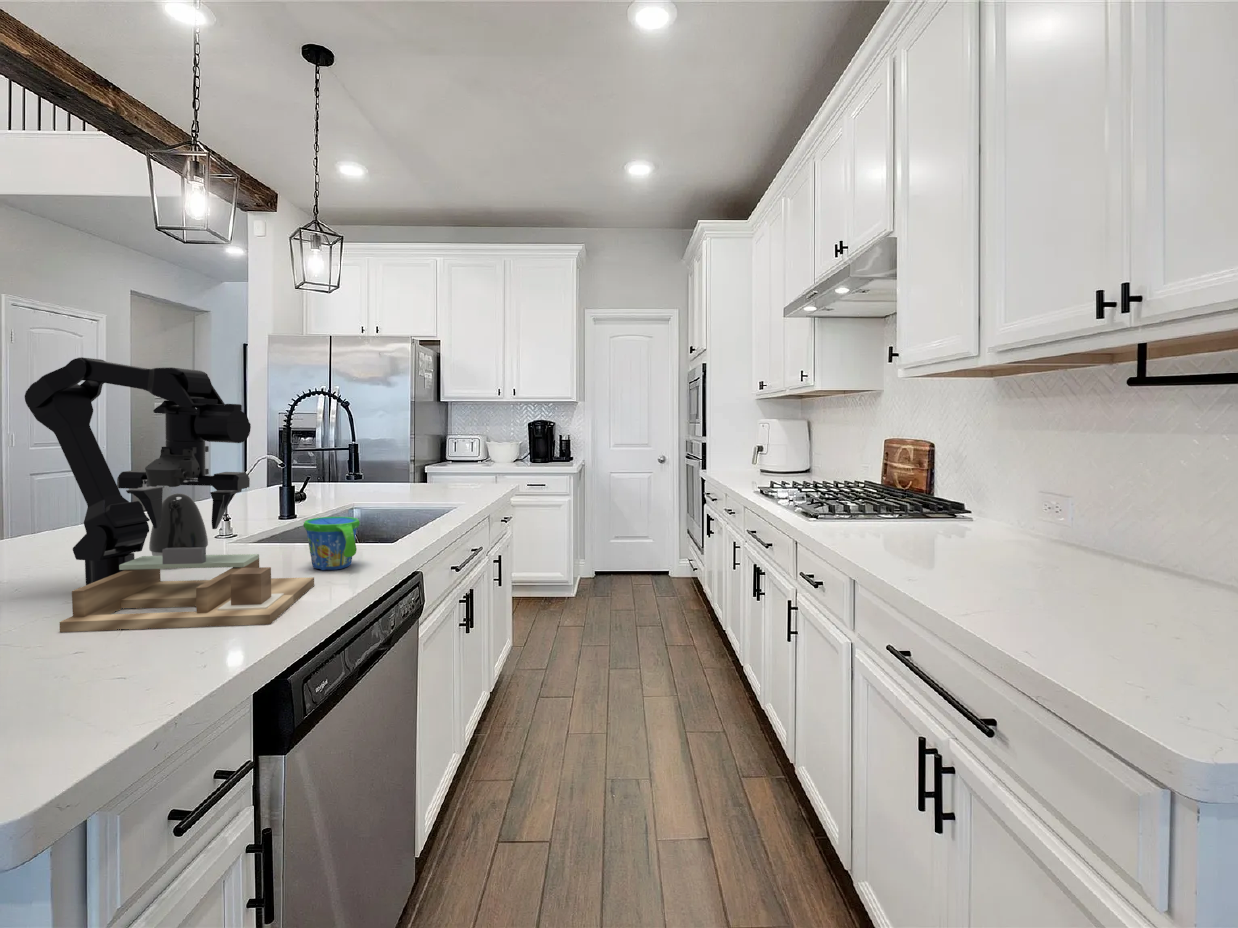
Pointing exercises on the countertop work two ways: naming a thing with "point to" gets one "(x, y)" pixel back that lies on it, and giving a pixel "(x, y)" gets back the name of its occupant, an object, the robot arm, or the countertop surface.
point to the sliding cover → (188, 560)
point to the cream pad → (252, 607)
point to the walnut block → (250, 586)
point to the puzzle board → (171, 601)
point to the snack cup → (331, 541)
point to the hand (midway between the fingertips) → (186, 528)
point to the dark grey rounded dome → (178, 526)
